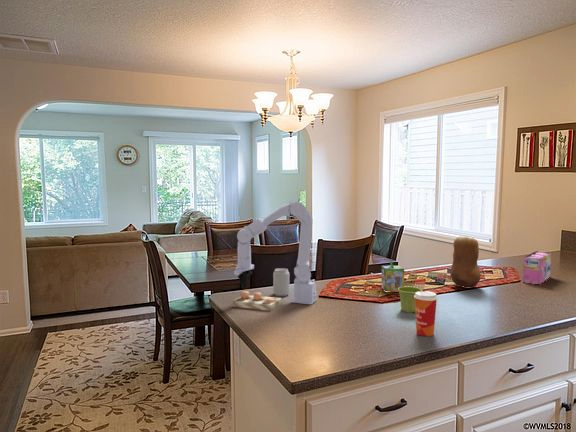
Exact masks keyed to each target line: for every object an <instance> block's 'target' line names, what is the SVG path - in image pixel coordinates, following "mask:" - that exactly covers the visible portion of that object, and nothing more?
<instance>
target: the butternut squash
mask: <svg viewBox="0 0 576 432" xmlns="http://www.w3.org/2000/svg"><path fill="white" fill-rule="evenodd" d="M479 250H480V249H479V242H478V240H477V239H476V238H474V237H470V236H469V237H468V236H458V237H456V238H455V239H454V241H453V253H452V264H451V267H450V269H449V270H450V271H449V274H450V278H451V280H452V282H453V284H455V286H458V285H460V286H459V287H461V286H464V287H471V288H474V287H477V285H478V283H480V281H481V276H482V275H481V271H480V268H479V266H478V259H479Z"/></svg>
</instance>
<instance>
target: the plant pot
mask: <svg viewBox="0 0 576 432" xmlns="http://www.w3.org/2000/svg"><path fill="white" fill-rule="evenodd" d="M398 291H399V293H398V294H399V301H400V307H401V311H403V312H405V313H413V312H414V313H416V311H415V298H414V295H415V293H416V292H418V291H419V292H420V291H423V290H422V289H421V288H419V287H416V286H404V287H399V288H398Z"/></svg>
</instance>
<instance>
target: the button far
mask: <svg viewBox="0 0 576 432" xmlns="http://www.w3.org/2000/svg"><path fill="white" fill-rule="evenodd" d="M249 295H250V291H248V290H247V291H246V290H242V291H241V292H240V297H241V299H244V300H247V299H249Z"/></svg>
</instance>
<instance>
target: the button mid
mask: <svg viewBox="0 0 576 432" xmlns="http://www.w3.org/2000/svg"><path fill="white" fill-rule="evenodd" d="M252 295H253V300H254V301H261V296H262V292H259V291H258V292H257V291H256V292H253V294H252Z"/></svg>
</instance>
